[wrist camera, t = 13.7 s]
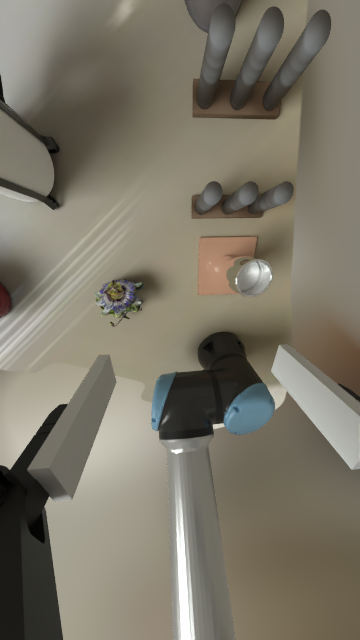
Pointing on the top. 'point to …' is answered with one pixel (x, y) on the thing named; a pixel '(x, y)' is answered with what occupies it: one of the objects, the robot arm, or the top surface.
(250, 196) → the rack
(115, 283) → the passion flower
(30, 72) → the top surface
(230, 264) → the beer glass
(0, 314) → the canister
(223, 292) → the tile pad
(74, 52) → the top surface
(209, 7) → the pillar candle
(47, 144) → the coffee press
